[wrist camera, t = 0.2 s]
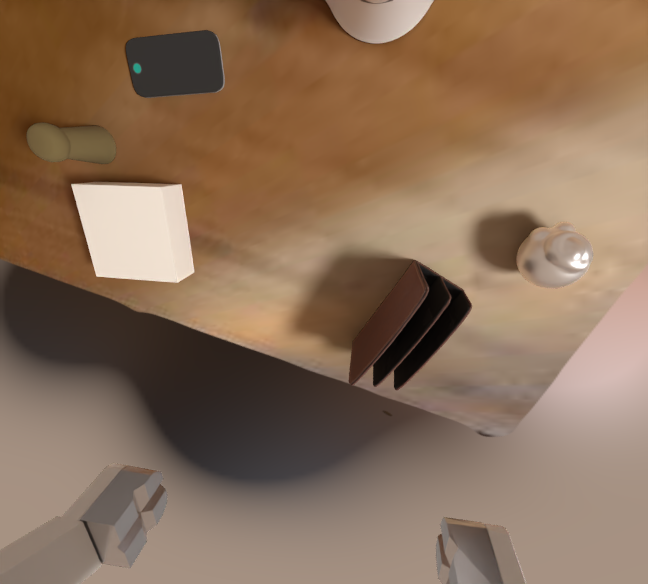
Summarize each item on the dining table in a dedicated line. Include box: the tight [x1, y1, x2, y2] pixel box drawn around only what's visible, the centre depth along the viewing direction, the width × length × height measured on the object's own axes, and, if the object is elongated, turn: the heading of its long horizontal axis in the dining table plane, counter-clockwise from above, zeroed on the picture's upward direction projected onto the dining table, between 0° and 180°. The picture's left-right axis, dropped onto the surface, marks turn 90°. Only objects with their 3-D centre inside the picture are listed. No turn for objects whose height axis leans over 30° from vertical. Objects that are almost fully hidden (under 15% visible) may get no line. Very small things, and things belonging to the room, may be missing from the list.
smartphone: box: [126, 30, 224, 98], centre depth 48 cm, size 8×1×15 cm
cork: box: [26, 123, 116, 164], centre depth 50 cm, size 6×6×11 cm
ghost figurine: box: [517, 222, 593, 288], centre depth 46 cm, size 9×10×10 cm
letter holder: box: [349, 260, 472, 390], centre depth 52 cm, size 10×20×14 cm, turn 150°
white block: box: [71, 182, 194, 283], centre depth 57 cm, size 16×16×6 cm
